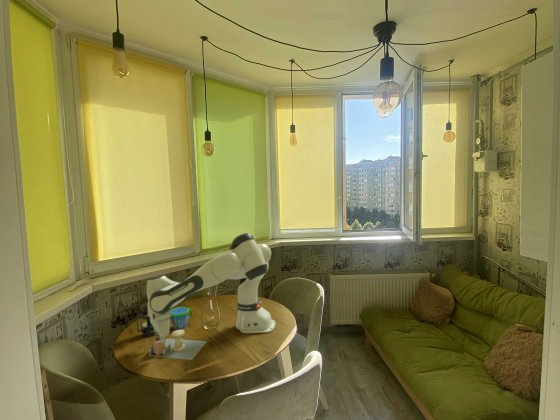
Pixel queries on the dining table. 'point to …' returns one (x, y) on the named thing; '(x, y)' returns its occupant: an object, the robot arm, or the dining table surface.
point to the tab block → (158, 346)
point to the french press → (146, 325)
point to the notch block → (165, 350)
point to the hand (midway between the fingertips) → (159, 338)
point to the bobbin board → (182, 347)
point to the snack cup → (180, 317)
